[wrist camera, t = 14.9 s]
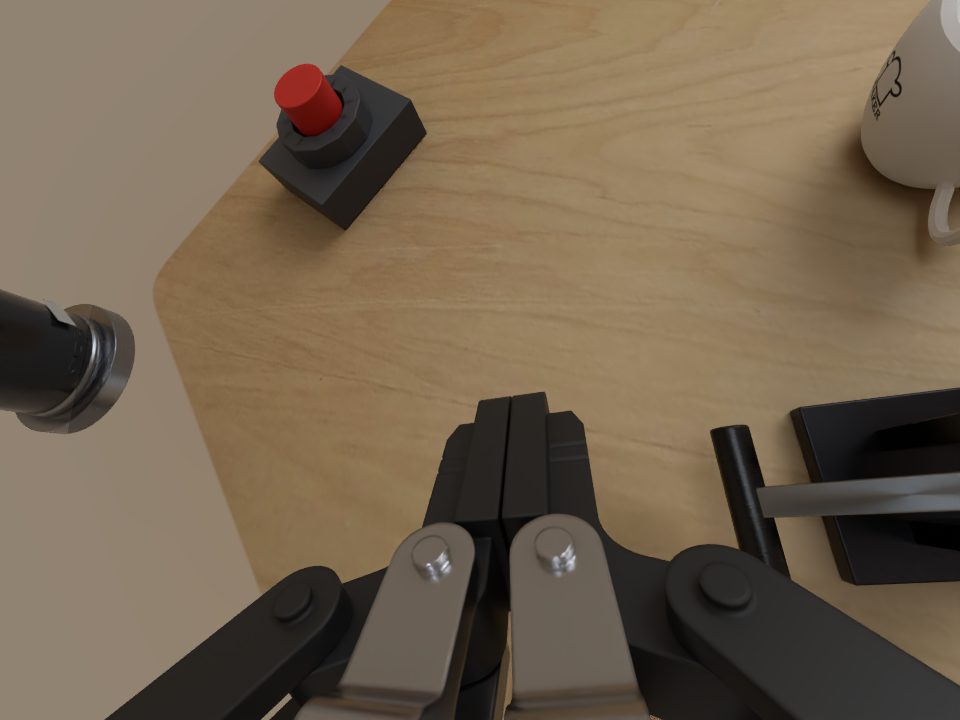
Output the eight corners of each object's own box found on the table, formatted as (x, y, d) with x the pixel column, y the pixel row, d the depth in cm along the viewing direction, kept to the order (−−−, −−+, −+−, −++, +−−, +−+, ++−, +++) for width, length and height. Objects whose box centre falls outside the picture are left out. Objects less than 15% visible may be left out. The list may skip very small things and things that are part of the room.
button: (319, 144, 30) (295, 115, 28) (289, 125, 32) (264, 96, 29) (352, 105, 30) (331, 73, 28) (321, 88, 32) (298, 56, 29)
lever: (757, 579, 18) (740, 592, 16) (718, 431, 20) (700, 429, 18) (1456, 610, 9) (1576, 644, 8) (1272, 343, 11) (1336, 323, 9)
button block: (345, 230, 34) (305, 189, 29) (285, 187, 36) (239, 143, 32) (427, 133, 34) (400, 77, 30) (361, 98, 37) (327, 42, 32)
